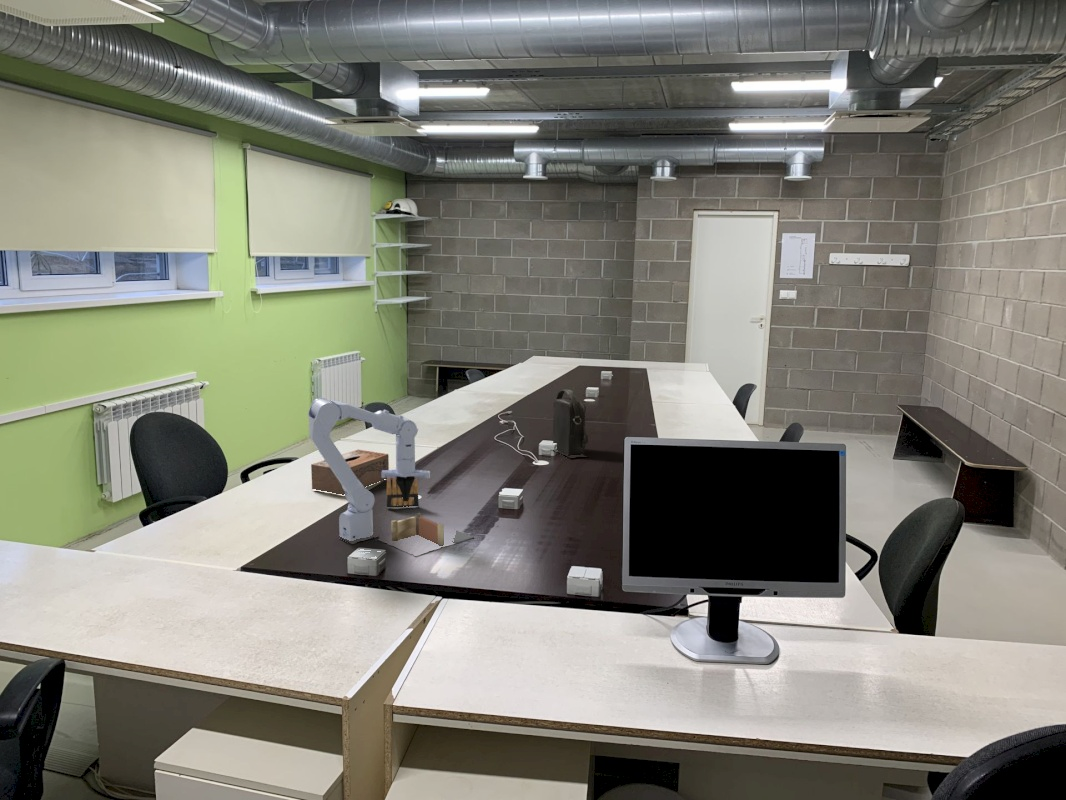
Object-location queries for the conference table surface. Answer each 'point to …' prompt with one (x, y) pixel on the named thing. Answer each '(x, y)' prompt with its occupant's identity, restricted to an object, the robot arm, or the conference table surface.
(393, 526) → the fence base
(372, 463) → the tissue box cover
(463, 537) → the card
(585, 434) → the shoulder bag
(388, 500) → the ammunition clip
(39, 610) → the conference table surface
